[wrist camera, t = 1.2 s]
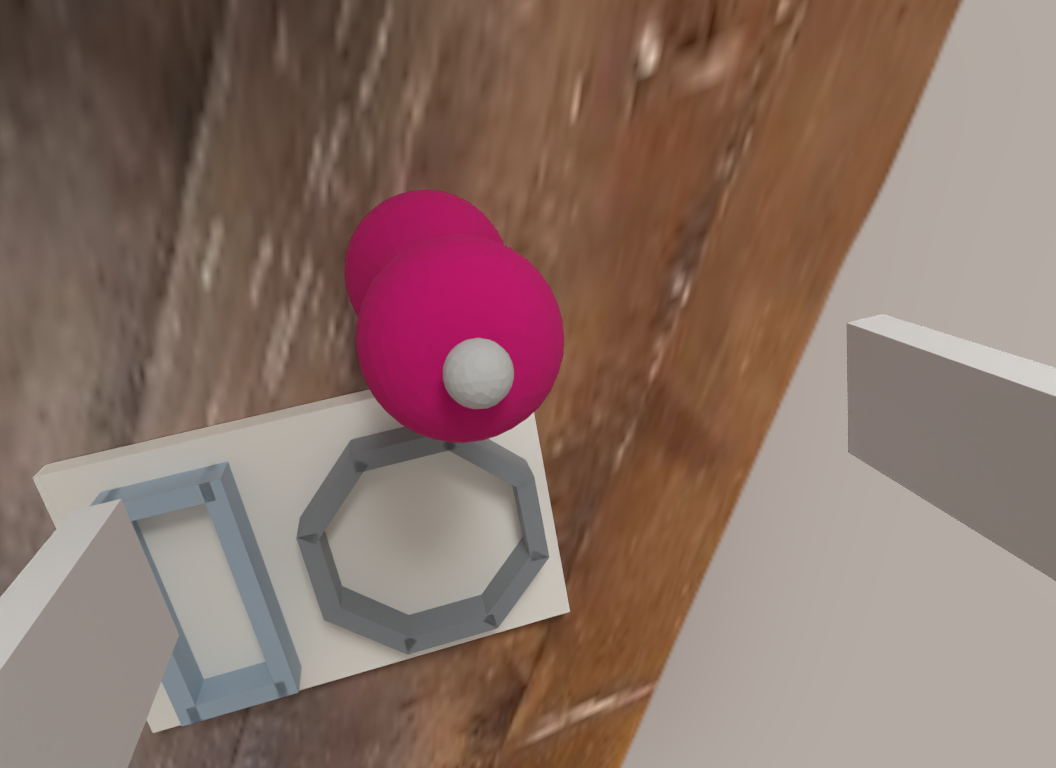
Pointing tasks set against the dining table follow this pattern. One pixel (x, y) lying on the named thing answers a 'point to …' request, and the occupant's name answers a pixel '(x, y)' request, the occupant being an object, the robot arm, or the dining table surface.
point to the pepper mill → (450, 319)
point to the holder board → (323, 545)
